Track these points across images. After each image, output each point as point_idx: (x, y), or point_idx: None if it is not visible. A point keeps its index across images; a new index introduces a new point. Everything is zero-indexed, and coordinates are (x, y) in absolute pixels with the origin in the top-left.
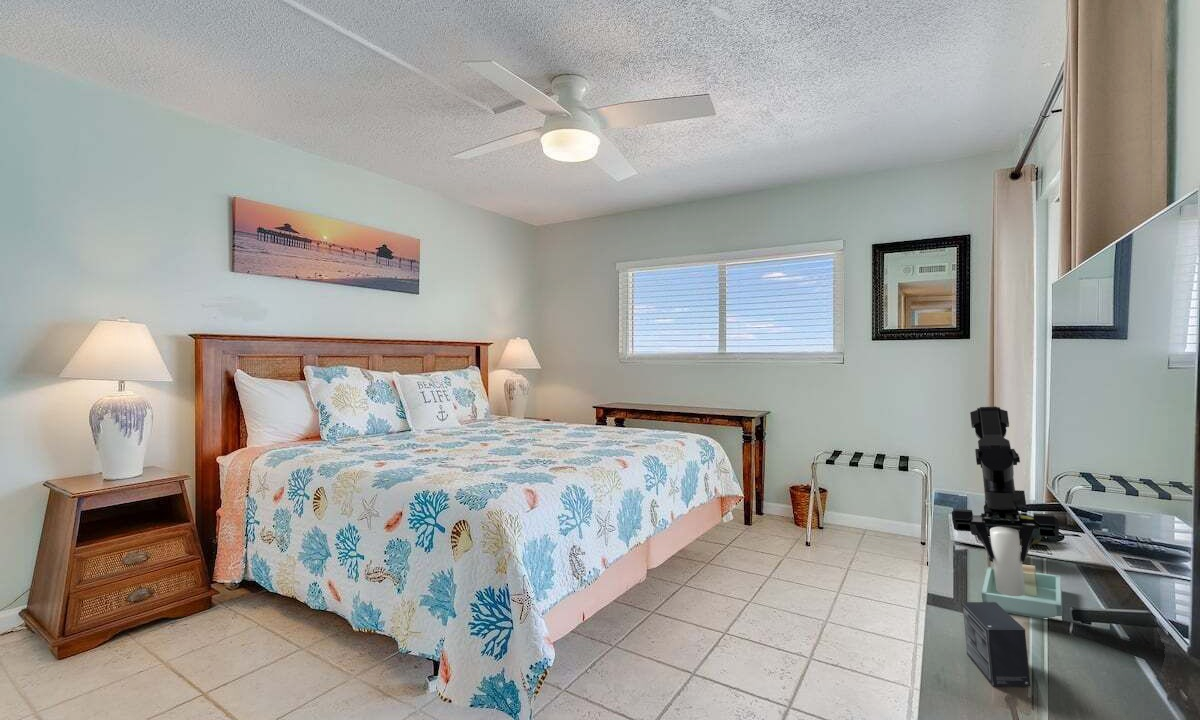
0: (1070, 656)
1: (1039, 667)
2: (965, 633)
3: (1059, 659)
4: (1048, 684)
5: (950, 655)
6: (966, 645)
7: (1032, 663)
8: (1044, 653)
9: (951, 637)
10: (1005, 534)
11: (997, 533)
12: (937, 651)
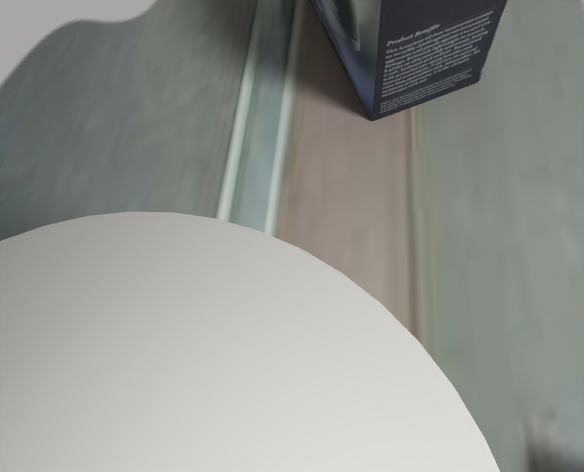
0: (157, 185)
1: (263, 85)
2: (500, 16)
3: (195, 154)
4: (253, 11)
5: (532, 55)
6: (487, 52)
7: (280, 100)
8: (233, 176)
9: (551, 178)
10: (111, 265)
11: (302, 308)
12: (579, 63)
